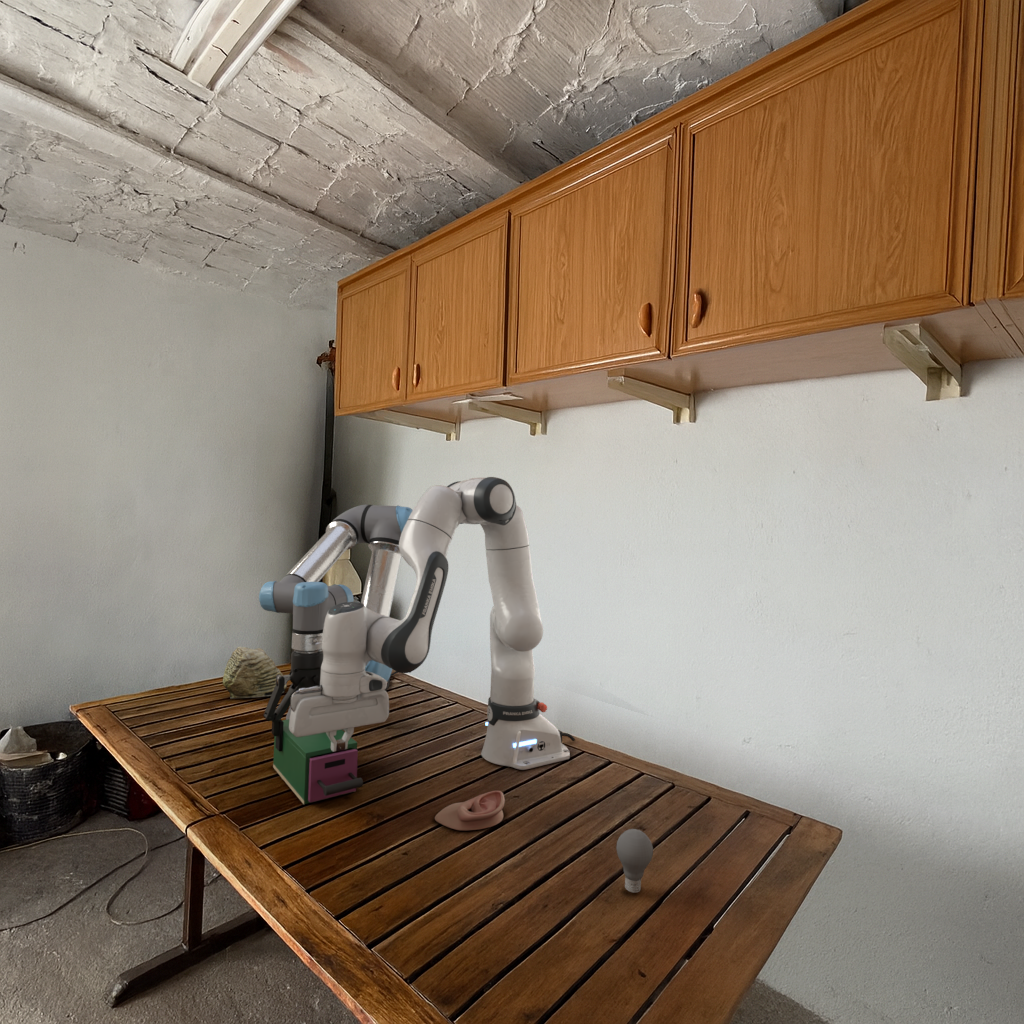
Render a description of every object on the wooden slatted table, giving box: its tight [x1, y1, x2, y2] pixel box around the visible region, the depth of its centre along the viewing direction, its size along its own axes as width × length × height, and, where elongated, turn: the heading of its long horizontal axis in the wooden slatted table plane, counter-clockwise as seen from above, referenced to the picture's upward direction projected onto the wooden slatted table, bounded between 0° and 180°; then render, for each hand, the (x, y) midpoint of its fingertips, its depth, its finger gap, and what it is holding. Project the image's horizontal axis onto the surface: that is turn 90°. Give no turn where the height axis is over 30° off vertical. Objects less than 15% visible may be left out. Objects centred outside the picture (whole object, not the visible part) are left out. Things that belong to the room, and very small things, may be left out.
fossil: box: [222, 646, 288, 699], centre depth 198 cm, size 9×18×15 cm, turn 132°
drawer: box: [308, 748, 364, 803], centre depth 138 cm, size 26×10×9 cm, turn 37°
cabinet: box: [272, 719, 358, 805], centre depth 142 cm, size 21×11×11 cm, turn 37°
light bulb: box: [615, 828, 654, 894], centre depth 106 cm, size 6×6×10 cm
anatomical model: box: [434, 790, 506, 831], centre depth 128 cm, size 13×4×12 cm
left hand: (305, 743), depth 146 cm, fingers closed on cabinet, 11 cm apart
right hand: (339, 749), depth 130 cm, fingers closed
